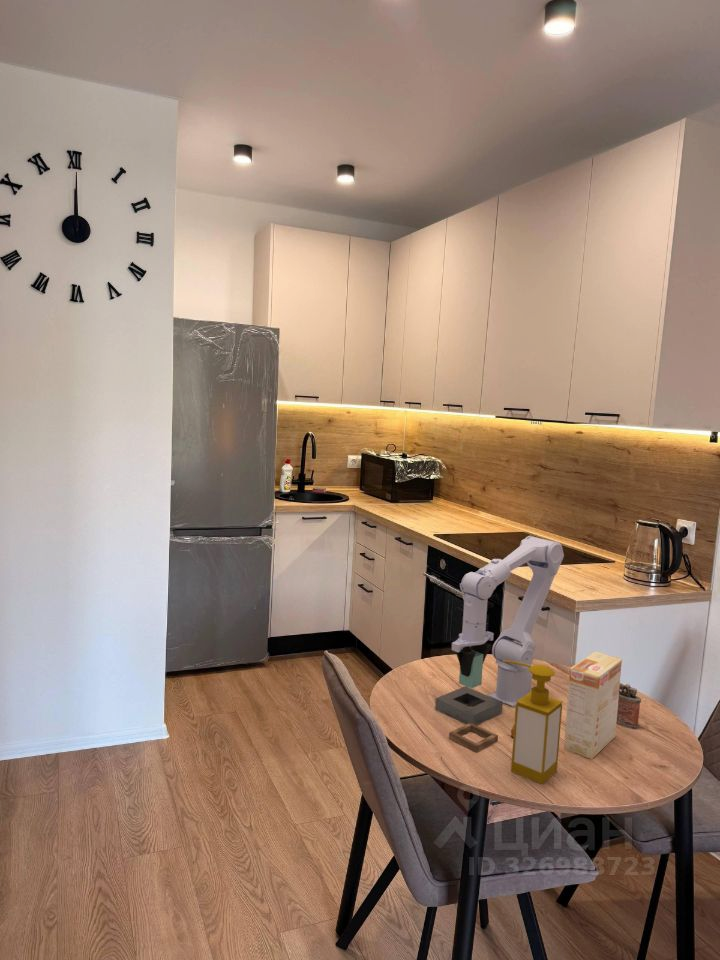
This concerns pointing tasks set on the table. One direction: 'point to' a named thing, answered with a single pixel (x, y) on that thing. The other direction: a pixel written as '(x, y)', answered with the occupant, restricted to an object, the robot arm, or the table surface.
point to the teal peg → (473, 672)
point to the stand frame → (457, 737)
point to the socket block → (476, 714)
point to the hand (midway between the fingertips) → (471, 672)
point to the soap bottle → (536, 729)
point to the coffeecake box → (592, 704)
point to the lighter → (628, 707)
